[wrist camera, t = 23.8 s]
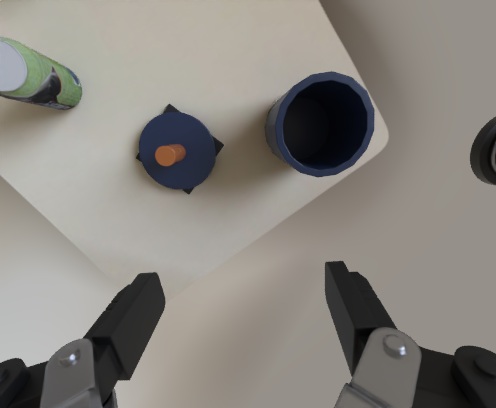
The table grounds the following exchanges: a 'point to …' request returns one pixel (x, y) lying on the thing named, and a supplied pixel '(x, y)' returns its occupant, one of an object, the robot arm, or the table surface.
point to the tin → (321, 124)
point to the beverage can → (36, 77)
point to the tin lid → (177, 150)
